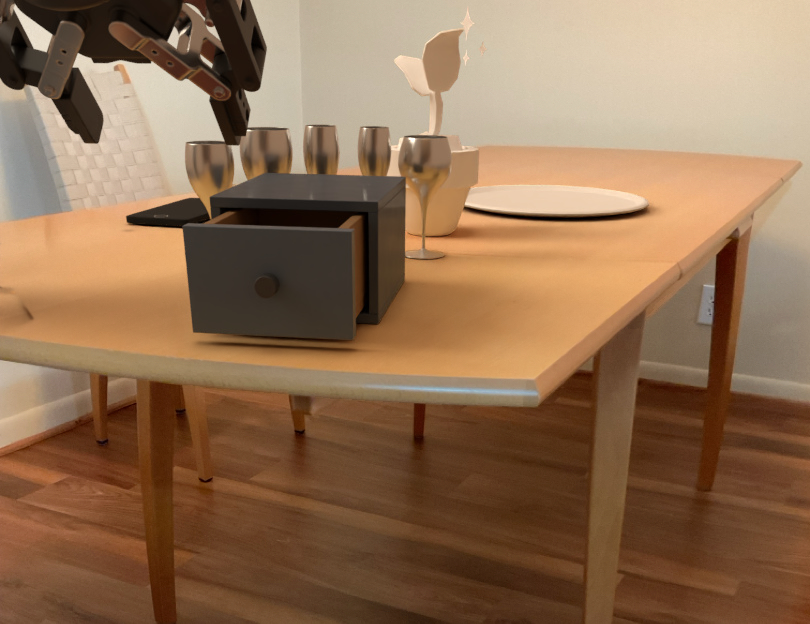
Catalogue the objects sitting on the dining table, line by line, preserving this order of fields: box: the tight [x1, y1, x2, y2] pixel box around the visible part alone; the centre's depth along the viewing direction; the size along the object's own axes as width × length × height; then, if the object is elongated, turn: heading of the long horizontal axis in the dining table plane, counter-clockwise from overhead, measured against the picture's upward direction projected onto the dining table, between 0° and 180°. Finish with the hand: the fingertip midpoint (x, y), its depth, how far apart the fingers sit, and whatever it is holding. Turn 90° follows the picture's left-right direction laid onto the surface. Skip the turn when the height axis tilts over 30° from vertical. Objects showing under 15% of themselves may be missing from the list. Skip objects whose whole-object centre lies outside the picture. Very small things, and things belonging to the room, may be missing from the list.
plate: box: [464, 184, 650, 219], centre depth 135 cm, size 29×29×1 cm
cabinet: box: [210, 173, 406, 325], centre depth 81 cm, size 17×14×10 cm
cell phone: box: [125, 197, 210, 228], centre depth 123 cm, size 9×18×1 cm, turn 165°
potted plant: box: [387, 7, 489, 237], centre depth 109 cm, size 13×12×25 cm
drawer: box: [181, 208, 369, 341], centre depth 73 cm, size 17×12×8 cm
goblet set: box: [184, 124, 452, 260], centre depth 95 cm, size 28×6×13 cm, turn 111°
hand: (164, 132), depth 53 cm, fingers open, 8 cm apart
